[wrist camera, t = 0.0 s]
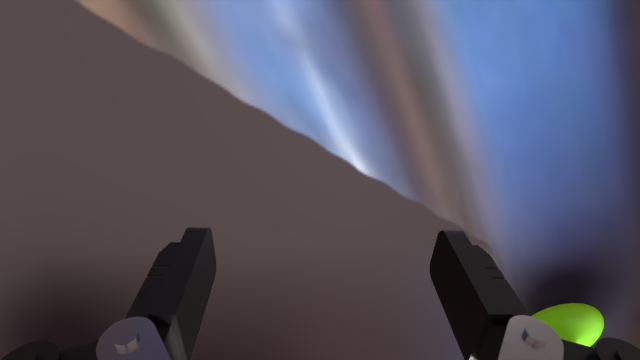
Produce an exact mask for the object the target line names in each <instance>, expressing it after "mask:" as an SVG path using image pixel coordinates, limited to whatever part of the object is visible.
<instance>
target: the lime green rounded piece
mask: <svg viewBox="0 0 640 360" xmlns="http://www.w3.org/2000/svg"><path fill="white" fill-rule="evenodd" d="M531 317H534V318H537V319H539V320H541V321H543V322H544V323H546V324H548V325H549V326H550V327H551V328H552V329H553V330H555V332H556V333H557V334H558V335H559V337H560V338H561V339H563V340H567V341H570V342H574V343H578V344H581V345H585V346H589V347H590V346H591V345H592V344H594V343H595V341H596V340H597V339H598V338H599V337H600V335H601V333H602V330H603V328H604V319H603V317H602V315H601V313H600V311H599V310H597V309H596V308H595V307H593V306H590V305H587V304H583V303H568V304H560V305H556V306H553V307H549V308H546V309H544V310H542V311H539V312H537V313H535V314H534V315H532V316H531Z"/></svg>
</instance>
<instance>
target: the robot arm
mask: <svg viewBox="0 0 640 360" xmlns="http://www.w3.org/2000/svg"><path fill="white" fill-rule="evenodd" d="M215 275H216V256H215V249H214V243H213V236H212V230H211V228H190V227H189V228H187V229H186V231H185V233H184V235H183V237H182V239H181V242H171V243H170V244H168V245H167V246H166V247H165V248H164V249H163V250H162V251H161V252H159V254H158V256H157V258H156V260H155V262H154V263H153V267H152V268H151V269H150V271H149V273H148V275H147V278H146V279H145V281H144V283H143V285H142V287H141V289H140V291H139V293H138V294H137V297H136V298H135V300H134V302H133V304H132V306H131V308H130V310H129V312H128V314H127V316H126V318H125V319H124V320H121V321H119V322H117V323H115V324H114V325H112V326H111V327H110V328H108V329H107V330H106V331H105V332H104V333H103V335H102V336H101V337H100V339H99V340H97V341H94V342H91V343H88V344H84V345H80V346H77V347H73V348H70V349H66V350H62V351H59V349H58V347H57V346H56V345H55V344H54V343H52V342H49V341H36V342H31V343H28V344H26V345H23V346H21V347H19V348H17V349H15V350H13V351H12V352H10V353H9V354H7V355H6V356H5V357H3V358H2V359H1V360H191V359H192V355H193V352H194V348H195V345H196V342H197V338H198V335H199V331H200V328H201V324H202V321H203V317H204V314H205V310H206V307H207V304H208V300H209V297H210V293H211V290H212V286H213V283H214V280H215ZM430 276H431V279H432V282H433V285H434V287H435V289H436V292H437V294H438V297H439V299H440V302H441V304H442V306H443V308H444V311H445V314H446V316H447V318H448V321H449V323H450V326H451V328H452V331H453V333H454V336H455V338H456V340H457V343H458V345H459V348H460V350H461V352H462V355H463V357H464V360H640V349H638V348H637V347H635V346H633V345H631V344H630V343H627V342H625V341H622V340H620V339H616V338H603V339H600V340H599V341H598V342H597V344H596V345H595V346H594V348H593V347H589V346H585V345H581V344H578V343H574V342H570V341H567V340H563V339H561V338H560V337H559V335H558V334H557V333H556V332H555V330H553V329H552V328H551V327H550V326H549V325H548V324H546V323H544V322H543V321H541V320H539V319H537V318H534V317H531V316H530V315H529V314H528V312H527V311H526V309H525V308H524V306H523V305H522V303H521V302H520V300H519V299H518V297H517V296H516V294H515V293H514V291H513V289H512V288H511V286H510V285H509V283H508V282H507V280H505V279H504V276H503V274H502V273H501V271H500V270H498V266H497V265H496V263H495V262H494V260H493V259H492V257H491V256H490V255H489V254H488V253H487V252H485V251H484V250H483V249H482V248H481V247H479V246H478V245H472V244H471V242H470V241H469V239H468V238H467V236H466V234H465V233H464V232H463V231H440V232H439V233H438V236H437V239H436V243H435V247H434V250H433V254H432V258H431V261H430Z"/></svg>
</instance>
